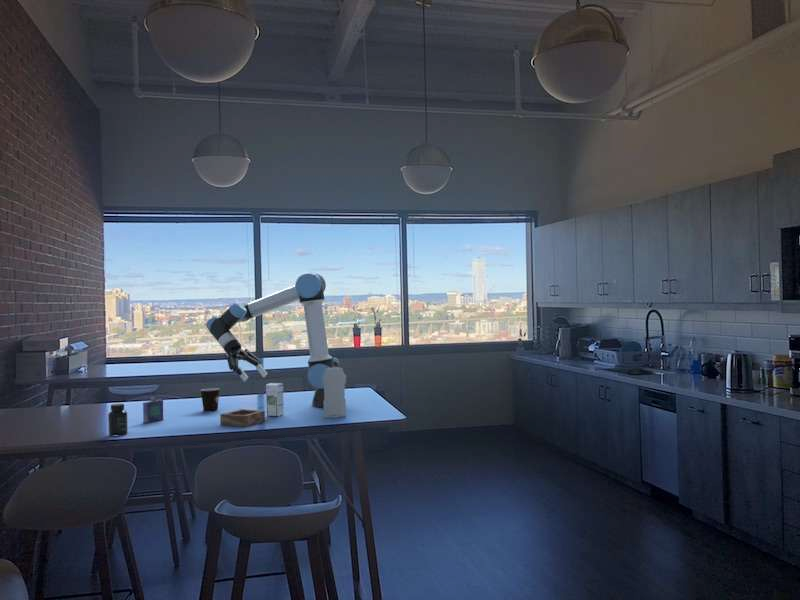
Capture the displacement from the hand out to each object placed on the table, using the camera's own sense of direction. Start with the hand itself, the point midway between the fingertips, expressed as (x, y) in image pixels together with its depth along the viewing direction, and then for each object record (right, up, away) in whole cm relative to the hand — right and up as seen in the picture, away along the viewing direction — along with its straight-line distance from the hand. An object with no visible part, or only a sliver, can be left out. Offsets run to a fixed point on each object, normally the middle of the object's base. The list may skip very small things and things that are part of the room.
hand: (256, 377), depth 287 cm
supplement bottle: (-46, -18, -37) cm, 62 cm away
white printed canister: (+10, -17, -4) cm, 20 cm away
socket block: (-1, -17, -20) cm, 26 cm away
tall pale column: (+37, -16, -10) cm, 42 cm away
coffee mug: (-24, -17, +14) cm, 32 cm away
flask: (-42, -18, -12) cm, 48 cm away
